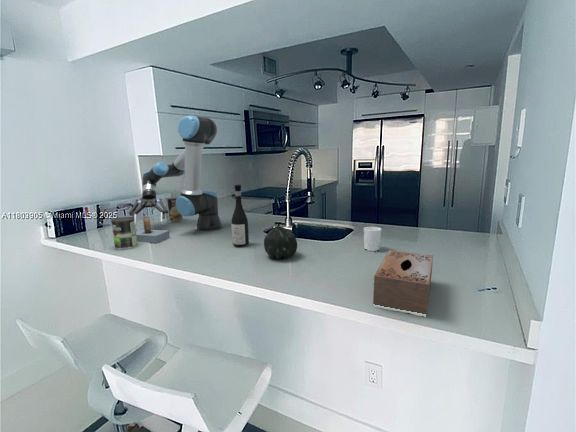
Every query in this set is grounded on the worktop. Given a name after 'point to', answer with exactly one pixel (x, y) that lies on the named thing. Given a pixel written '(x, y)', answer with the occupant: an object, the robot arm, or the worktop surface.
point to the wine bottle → (239, 222)
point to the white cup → (372, 238)
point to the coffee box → (172, 211)
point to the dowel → (147, 225)
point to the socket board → (152, 236)
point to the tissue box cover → (403, 281)
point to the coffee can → (124, 233)
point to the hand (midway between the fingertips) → (148, 224)
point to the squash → (280, 243)
